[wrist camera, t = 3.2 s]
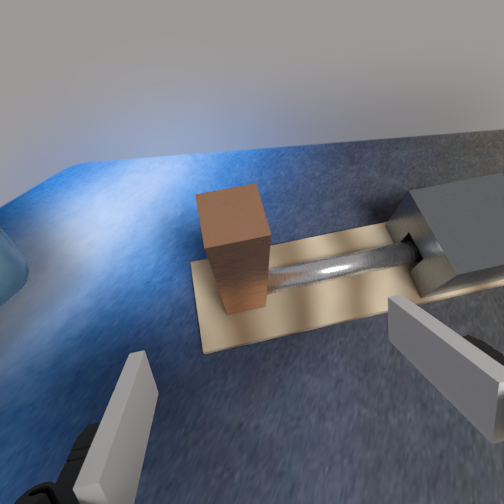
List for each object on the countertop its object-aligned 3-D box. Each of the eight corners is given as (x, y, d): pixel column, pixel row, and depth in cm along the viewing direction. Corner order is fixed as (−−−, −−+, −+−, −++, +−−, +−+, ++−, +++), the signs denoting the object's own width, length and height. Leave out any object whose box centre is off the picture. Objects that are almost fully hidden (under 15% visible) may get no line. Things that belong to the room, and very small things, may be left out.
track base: (204, 354, 30) (203, 352, 29) (192, 265, 35) (190, 262, 34) (507, 284, 33) (514, 281, 32) (459, 210, 37) (464, 205, 36)
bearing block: (421, 298, 31) (457, 274, 26) (384, 225, 35) (408, 190, 30) (509, 278, 32) (564, 250, 26) (464, 209, 36) (502, 172, 31)
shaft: (227, 315, 30) (204, 248, 18) (220, 279, 32) (195, 194, 19) (420, 272, 32) (529, 182, 19) (404, 240, 34) (493, 139, 21)
